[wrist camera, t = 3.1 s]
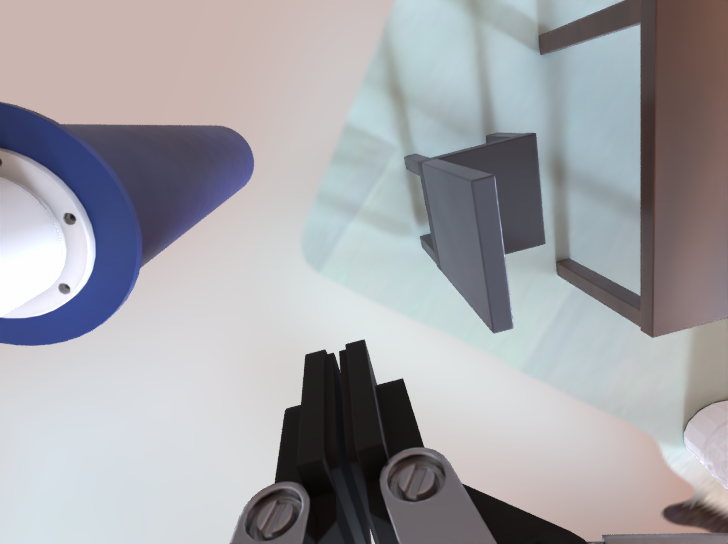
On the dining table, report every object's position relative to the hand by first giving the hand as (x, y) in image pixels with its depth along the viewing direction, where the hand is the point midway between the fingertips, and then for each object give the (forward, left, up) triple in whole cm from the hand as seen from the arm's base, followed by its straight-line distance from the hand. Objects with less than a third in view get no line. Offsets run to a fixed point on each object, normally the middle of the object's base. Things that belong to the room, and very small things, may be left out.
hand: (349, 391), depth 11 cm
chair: (+10, 0, -20) cm, 22 cm away
